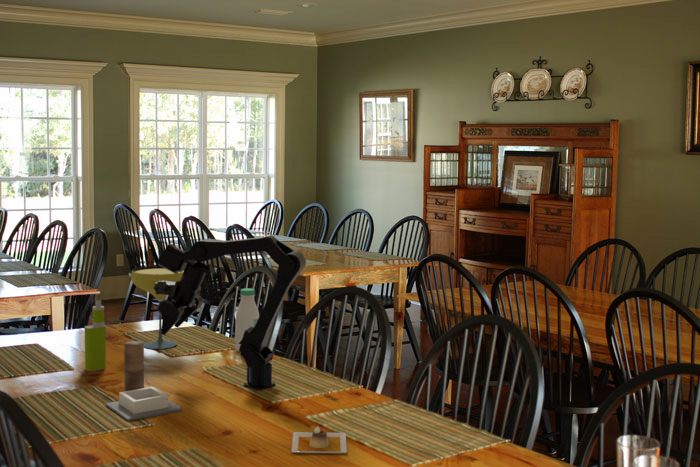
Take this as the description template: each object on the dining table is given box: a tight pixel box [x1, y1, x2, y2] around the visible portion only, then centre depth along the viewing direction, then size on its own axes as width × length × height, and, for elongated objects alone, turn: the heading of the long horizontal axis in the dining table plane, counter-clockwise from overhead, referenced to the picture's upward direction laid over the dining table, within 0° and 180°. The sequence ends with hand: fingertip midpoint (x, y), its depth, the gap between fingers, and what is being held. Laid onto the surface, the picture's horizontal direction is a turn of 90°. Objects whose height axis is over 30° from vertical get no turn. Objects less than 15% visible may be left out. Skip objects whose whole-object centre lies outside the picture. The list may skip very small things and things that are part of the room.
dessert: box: [290, 425, 348, 455], centre depth 178 cm, size 12×12×5 cm
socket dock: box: [105, 386, 183, 422], centre depth 200 cm, size 14×14×4 cm
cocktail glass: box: [130, 265, 185, 351], centre depth 261 cm, size 18×18×25 cm
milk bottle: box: [234, 288, 260, 353], centre depth 258 cm, size 8×8×20 cm
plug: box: [123, 340, 145, 392], centre depth 213 cm, size 5×5×13 cm
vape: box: [84, 299, 107, 372], centre depth 233 cm, size 4×6×20 cm, turn 134°
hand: (169, 330), depth 224 cm, fingers open, 9 cm apart
